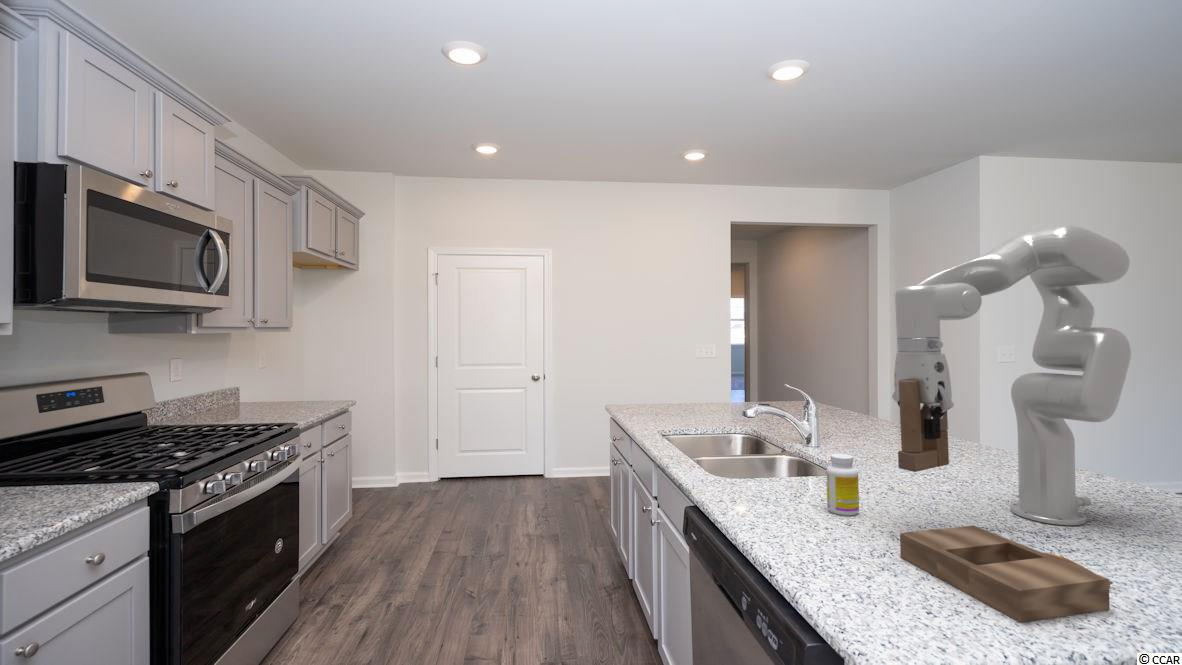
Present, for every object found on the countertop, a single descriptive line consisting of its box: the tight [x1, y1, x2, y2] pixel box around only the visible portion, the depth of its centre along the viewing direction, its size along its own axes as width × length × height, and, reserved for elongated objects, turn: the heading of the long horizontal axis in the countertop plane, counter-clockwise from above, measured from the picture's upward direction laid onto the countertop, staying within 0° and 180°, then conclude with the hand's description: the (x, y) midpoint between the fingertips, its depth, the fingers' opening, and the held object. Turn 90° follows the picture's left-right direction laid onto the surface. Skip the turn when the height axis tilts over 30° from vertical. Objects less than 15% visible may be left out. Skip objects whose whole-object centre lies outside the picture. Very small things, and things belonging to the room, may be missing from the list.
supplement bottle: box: [825, 453, 860, 517], centre depth 120 cm, size 7×7×13 cm
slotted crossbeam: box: [899, 525, 1111, 623], centre depth 86 cm, size 16×22×4 cm
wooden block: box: [897, 379, 950, 473], centre depth 106 cm, size 4×11×18 cm, turn 114°
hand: (922, 435), depth 106 cm, fingers closed on wooden block, 4 cm apart
